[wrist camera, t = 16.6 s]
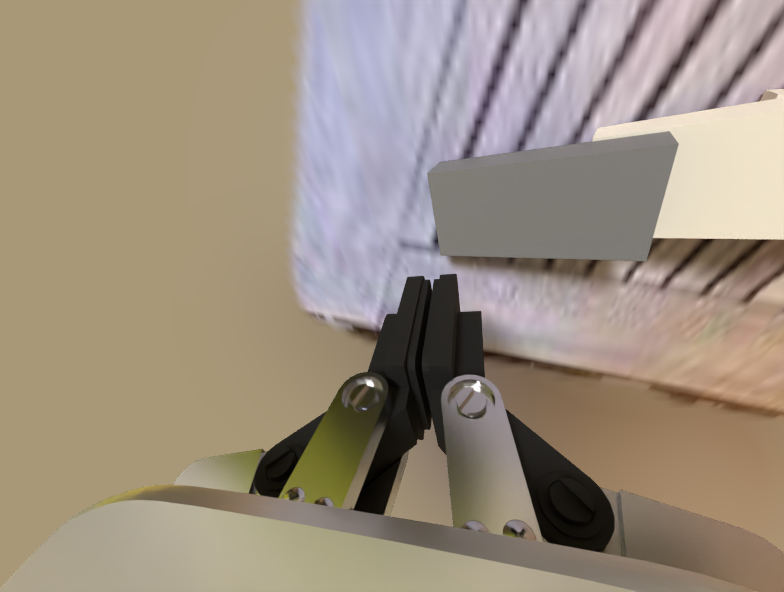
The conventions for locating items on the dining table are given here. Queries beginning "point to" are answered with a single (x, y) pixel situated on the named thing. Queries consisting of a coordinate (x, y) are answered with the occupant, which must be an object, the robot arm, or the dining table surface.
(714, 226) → the ivory domino
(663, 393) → the dining table surface
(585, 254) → the slate domino
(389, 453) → the robot arm
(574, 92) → the dining table surface
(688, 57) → the dining table surface
